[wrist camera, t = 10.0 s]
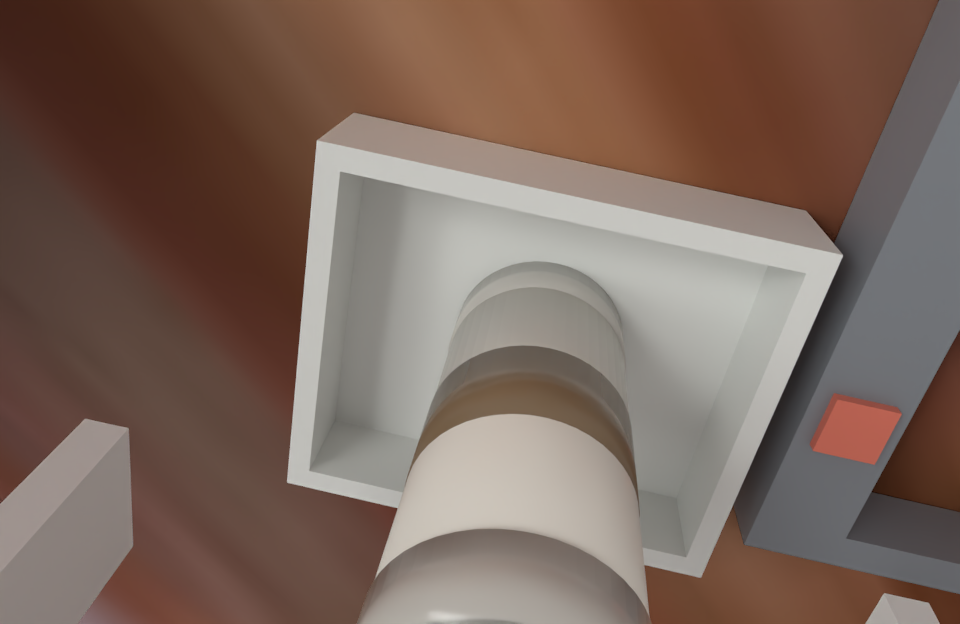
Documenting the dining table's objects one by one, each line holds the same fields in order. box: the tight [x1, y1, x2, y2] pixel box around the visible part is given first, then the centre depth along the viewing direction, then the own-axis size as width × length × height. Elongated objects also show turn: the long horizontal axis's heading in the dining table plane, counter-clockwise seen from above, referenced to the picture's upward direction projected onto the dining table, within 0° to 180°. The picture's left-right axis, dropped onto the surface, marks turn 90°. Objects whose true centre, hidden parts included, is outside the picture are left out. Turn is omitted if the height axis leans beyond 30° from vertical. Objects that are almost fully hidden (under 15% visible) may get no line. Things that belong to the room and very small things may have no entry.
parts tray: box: [287, 113, 843, 578], centre depth 21 cm, size 12×10×3 cm
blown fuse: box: [357, 261, 652, 624], centre depth 16 cm, size 5×5×12 cm
